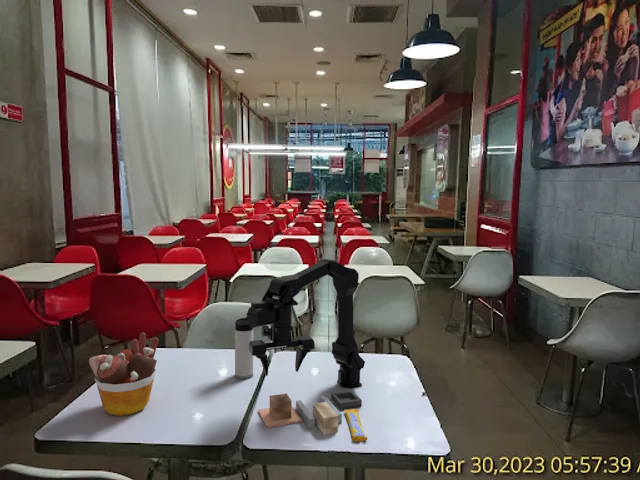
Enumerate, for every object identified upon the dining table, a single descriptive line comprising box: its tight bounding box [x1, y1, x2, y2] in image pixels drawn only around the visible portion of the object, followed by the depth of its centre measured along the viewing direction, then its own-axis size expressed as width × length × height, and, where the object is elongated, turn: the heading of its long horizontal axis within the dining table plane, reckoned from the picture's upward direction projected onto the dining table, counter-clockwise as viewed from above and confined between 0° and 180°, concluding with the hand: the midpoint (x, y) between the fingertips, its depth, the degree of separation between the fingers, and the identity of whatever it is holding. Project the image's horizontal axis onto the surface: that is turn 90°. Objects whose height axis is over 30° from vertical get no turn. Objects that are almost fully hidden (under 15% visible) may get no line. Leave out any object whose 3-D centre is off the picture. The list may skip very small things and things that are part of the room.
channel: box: [295, 396, 343, 429], centre depth 130 cm, size 10×12×2 cm
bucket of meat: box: [88, 332, 160, 417], centre depth 133 cm, size 20×16×20 cm
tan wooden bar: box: [312, 402, 339, 435], centre depth 125 cm, size 4×9×4 cm, turn 20°
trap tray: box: [330, 390, 363, 411], centre depth 139 cm, size 7×7×2 cm
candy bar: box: [343, 408, 368, 443], centre depth 125 cm, size 17×4×2 cm, turn 4°
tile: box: [257, 405, 303, 428], centre depth 130 cm, size 10×10×1 cm
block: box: [269, 393, 293, 421], centre depth 129 cm, size 5×5×5 cm
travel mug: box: [234, 316, 254, 380], centre depth 158 cm, size 6×7×20 cm
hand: (281, 373), depth 135 cm, fingers open, 9 cm apart
